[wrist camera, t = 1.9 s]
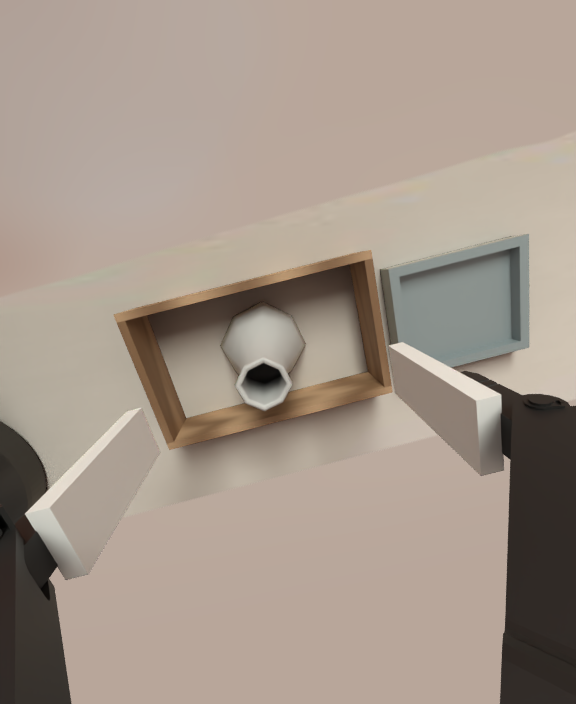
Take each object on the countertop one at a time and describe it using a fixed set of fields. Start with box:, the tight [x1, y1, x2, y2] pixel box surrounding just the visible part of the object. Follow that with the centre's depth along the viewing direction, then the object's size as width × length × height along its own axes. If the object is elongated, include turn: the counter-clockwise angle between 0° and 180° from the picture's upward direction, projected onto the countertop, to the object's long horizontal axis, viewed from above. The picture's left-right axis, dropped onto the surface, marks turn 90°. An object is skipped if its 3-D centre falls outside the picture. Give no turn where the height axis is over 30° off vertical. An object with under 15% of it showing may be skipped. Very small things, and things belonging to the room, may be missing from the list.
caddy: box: [114, 250, 392, 450], centre depth 25 cm, size 19×12×4 cm, turn 104°
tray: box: [380, 234, 529, 368], centre depth 26 cm, size 12×10×2 cm
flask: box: [220, 302, 306, 411], centre depth 22 cm, size 7×7×10 cm
